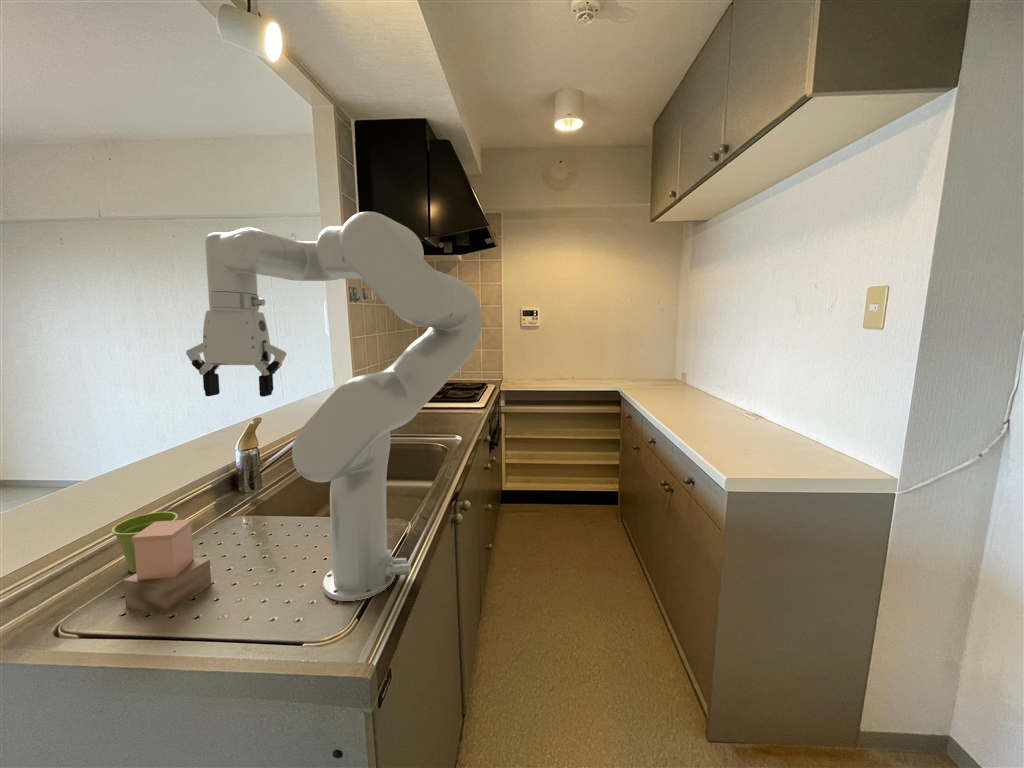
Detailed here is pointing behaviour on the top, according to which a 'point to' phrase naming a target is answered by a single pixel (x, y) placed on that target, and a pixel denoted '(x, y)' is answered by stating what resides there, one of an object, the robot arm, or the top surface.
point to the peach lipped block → (163, 549)
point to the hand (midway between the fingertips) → (239, 395)
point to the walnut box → (167, 588)
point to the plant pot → (134, 526)
